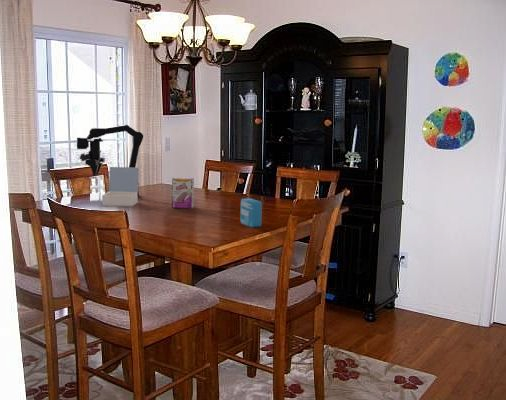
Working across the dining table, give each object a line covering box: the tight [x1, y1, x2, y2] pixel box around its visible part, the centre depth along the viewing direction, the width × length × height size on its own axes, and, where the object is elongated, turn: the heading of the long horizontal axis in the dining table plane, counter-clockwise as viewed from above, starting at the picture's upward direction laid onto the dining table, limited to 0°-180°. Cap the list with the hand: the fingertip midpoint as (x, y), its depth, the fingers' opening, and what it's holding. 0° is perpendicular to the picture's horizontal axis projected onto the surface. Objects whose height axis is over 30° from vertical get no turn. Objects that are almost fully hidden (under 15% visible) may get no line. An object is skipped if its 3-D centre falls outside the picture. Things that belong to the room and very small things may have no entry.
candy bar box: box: [171, 176, 195, 210], centre depth 287 cm, size 11×5×16 cm, turn 84°
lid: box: [108, 166, 140, 192], centre depth 301 cm, size 14×16×1 cm
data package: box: [239, 197, 263, 228], centre depth 247 cm, size 12×4×12 cm, turn 31°
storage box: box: [101, 190, 139, 208], centre depth 294 cm, size 14×16×6 cm
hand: (95, 175), depth 316 cm, fingers open, 4 cm apart
